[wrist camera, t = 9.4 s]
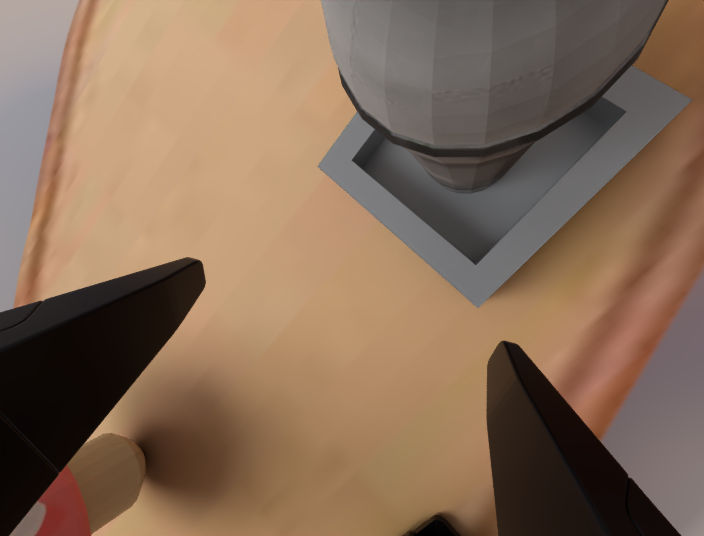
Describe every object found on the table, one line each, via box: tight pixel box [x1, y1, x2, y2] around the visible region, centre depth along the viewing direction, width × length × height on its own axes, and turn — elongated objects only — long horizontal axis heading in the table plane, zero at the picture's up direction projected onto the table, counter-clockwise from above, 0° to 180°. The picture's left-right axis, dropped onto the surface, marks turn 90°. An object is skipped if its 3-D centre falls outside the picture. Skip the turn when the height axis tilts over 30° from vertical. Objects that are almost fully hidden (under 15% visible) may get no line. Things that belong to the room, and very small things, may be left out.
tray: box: [318, 65, 692, 308], centre depth 17 cm, size 13×13×2 cm
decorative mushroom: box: [10, 433, 146, 536], centre depth 22 cm, size 13×13×15 cm
